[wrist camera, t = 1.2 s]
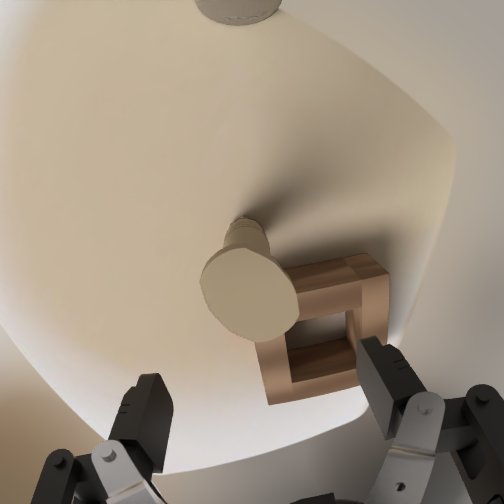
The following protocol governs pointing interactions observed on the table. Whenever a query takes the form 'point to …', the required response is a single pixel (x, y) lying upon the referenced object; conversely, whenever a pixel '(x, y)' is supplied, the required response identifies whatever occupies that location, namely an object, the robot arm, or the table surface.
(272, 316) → the handle
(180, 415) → the table surface
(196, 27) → the table surface
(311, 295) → the wooden block
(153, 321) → the table surface
